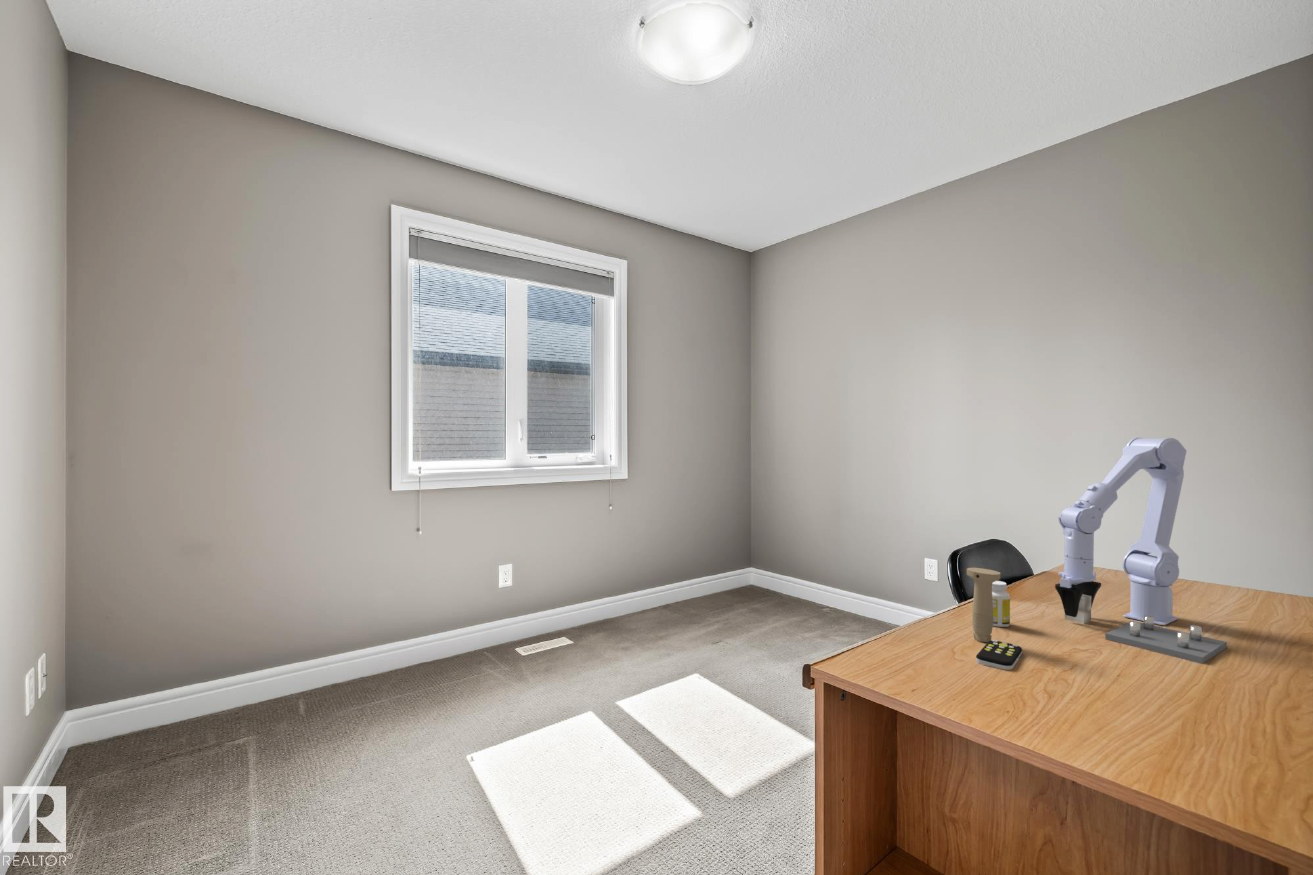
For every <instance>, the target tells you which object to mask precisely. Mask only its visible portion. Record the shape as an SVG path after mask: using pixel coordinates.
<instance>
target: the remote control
mask: <svg viewBox="0 0 1313 875" xmlns="http://www.w3.org/2000/svg"><path fill="white" fill-rule="evenodd" d="M1022 655H1023V649H1022V647H1021V646H1019V645H1018V644H1015V643H1008V642H1005V641H1000V640H997V639H991V641H988V642H986V644H985V645H983V647H982V648H981V649H980V650H979V652H978V653H977V654H976V655H975V656H976V657H975V661H976V662H977V663H978V664H980V665H982V666H983V665H984V666H987V667H991V668H994V669H1000V670H1004V671H1010V670H1013V669H1014V667H1015V666H1016V664H1017V662H1018V661H1019V660H1020V659H1021V657H1022Z"/></svg>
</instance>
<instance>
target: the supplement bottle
mask: <svg viewBox="0 0 1313 875" xmlns="http://www.w3.org/2000/svg"><path fill="white" fill-rule="evenodd" d="M1007 589H1008V586H1007V583H1006V582H1005V581H1001V580H997V581H995V582H993V583H992V601H993V627H999V628H1008V627H1010V624H1011V596H1010V593H1008V592H1007Z"/></svg>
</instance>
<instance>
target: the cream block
mask: <svg viewBox="0 0 1313 875" xmlns="http://www.w3.org/2000/svg"><path fill="white" fill-rule="evenodd" d="M1064 620H1065V621H1069V622H1073V623H1078V624H1081V625H1082V624H1084V625H1085V624H1087V623H1089V622H1090V623H1091V621H1092V608H1091V596H1088V595H1082V597H1081V599H1080V602H1079V608H1078V613H1077V616H1076V617H1072V616H1067V615H1065V614H1064Z"/></svg>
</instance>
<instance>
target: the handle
mask: <svg viewBox="0 0 1313 875" xmlns="http://www.w3.org/2000/svg"><path fill="white" fill-rule="evenodd" d="M966 576H968V577H970V578H971V579H972V580H973V582H974V583H973V585H974V588H973V598H972V599H973V600H972V609H971V610H972V613H971V617H972V619H971V620H972V630H973V638H974V640H977V641H978V642H983V643H988V642H989V641H991V640H992V636H993V635H992V633H993V628H994V626H993V601H992V583H993V582H995V581H1000V580H1001V572H999V571H997V570H992V569H989V568H981V567H968V568H967V567H966Z"/></svg>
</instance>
